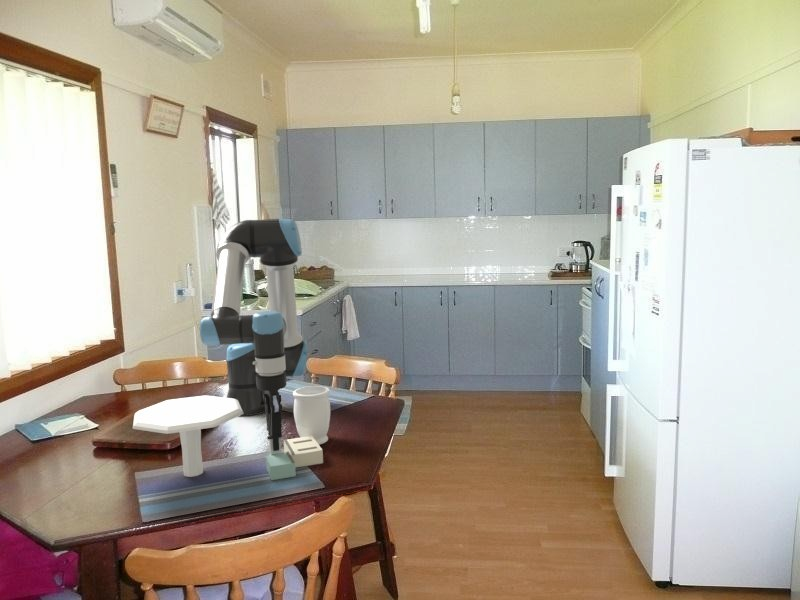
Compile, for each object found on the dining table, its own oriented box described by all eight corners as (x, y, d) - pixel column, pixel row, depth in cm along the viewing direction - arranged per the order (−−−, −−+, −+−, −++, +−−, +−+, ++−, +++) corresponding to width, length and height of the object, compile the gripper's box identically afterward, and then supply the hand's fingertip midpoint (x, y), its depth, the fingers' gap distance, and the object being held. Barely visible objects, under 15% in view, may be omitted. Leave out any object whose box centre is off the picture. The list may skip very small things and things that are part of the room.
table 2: (161, 453, 177) (156, 395, 175) (261, 451, 176) (257, 392, 174) (113, 498, 149) (106, 429, 147) (231, 496, 148) (226, 427, 146)
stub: (266, 468, 164) (265, 455, 163) (289, 464, 166) (288, 451, 165) (271, 480, 156) (270, 466, 156) (295, 476, 158) (294, 462, 158)
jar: (325, 448, 177) (322, 396, 175) (289, 447, 179) (286, 395, 177) (336, 435, 187) (334, 385, 185) (303, 434, 189) (300, 385, 187)
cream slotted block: (284, 452, 175) (283, 439, 174) (312, 447, 178) (312, 435, 177) (292, 468, 164) (292, 454, 163) (323, 462, 166) (322, 449, 166)
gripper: (252, 368, 167) (257, 454, 170) (259, 380, 155) (265, 472, 158) (280, 365, 169) (285, 450, 172) (290, 376, 157) (295, 467, 160)
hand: (276, 460), depth 165 cm, fingers closed
